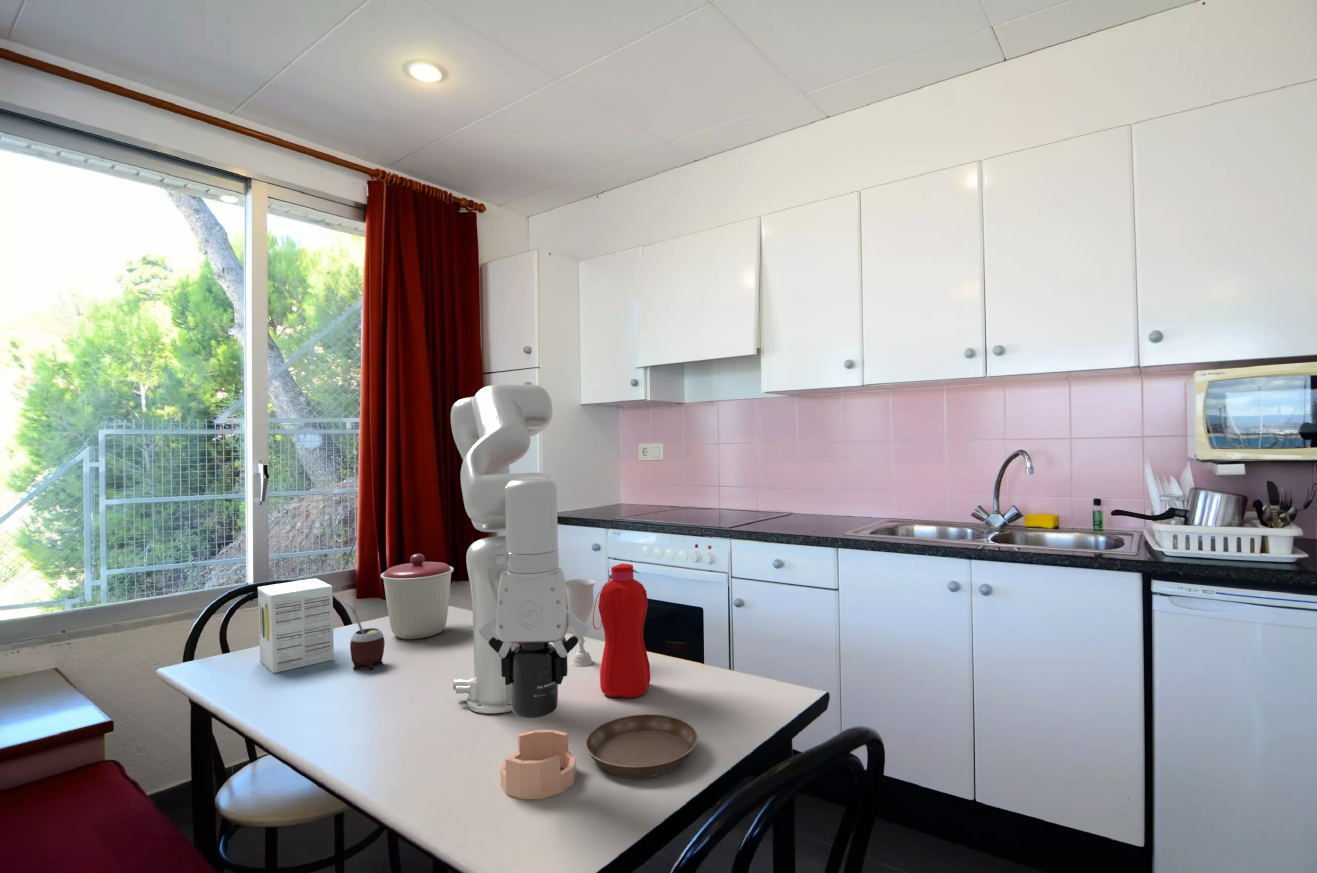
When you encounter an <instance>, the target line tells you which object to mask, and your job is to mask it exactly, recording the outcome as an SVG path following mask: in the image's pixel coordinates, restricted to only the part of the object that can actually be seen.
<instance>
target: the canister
mask: <svg viewBox="0 0 1317 873" xmlns="http://www.w3.org/2000/svg"><path fill="white" fill-rule="evenodd" d="M409 561H410V562H409V563H403V564H398V565H395V566H394V565H393V566H391V567H389V568H387V569H386V570H385V571H384V572H382V573H381V574H380V578H381V579H382V580H383V585H384V593H385V599H386V607H387V613H388V614H387V615H388V620H389V625H390V630H391V632H392V633H393V634H394V636H395V637H397V638H399V639H403V640H404V639H405V640H417V639H418V640H419V639H426V638H429V637H433V636H436V635H438V634H440V633H442V632H443V631H444V629H445V627H446V626H447V621H448V615H449V614H448V613H449V603H450V592H451V591H450V590H451V583H452V582H451V581H452V580H451V578H452V573H453V572H454V567H453V566H451V565H449V564H447V563H445V562H440V561H439V562H438V561H425V556H424V554H422V553H415V554H413V555H411V556H410V559H409Z"/></svg>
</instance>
